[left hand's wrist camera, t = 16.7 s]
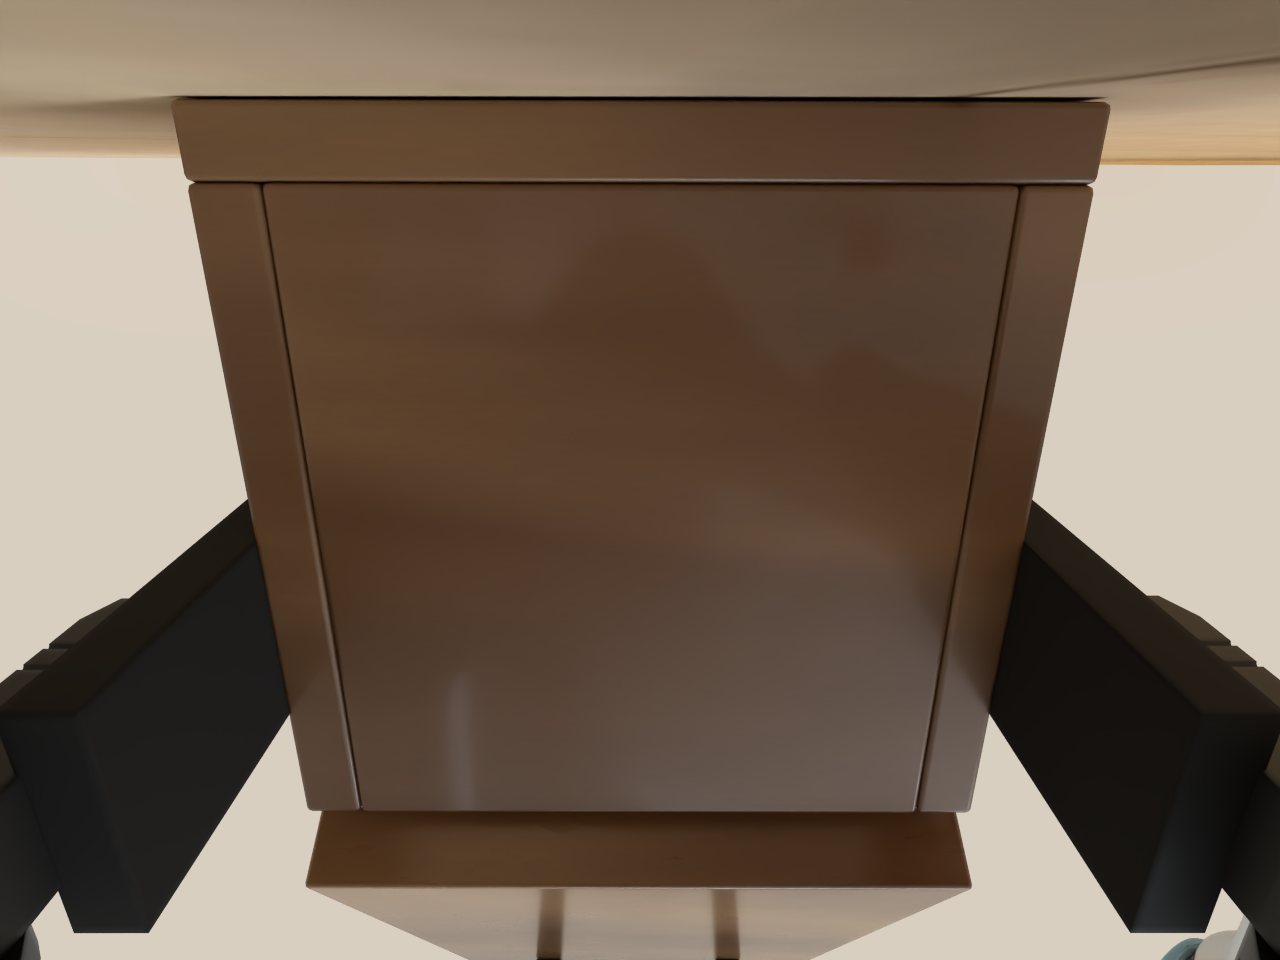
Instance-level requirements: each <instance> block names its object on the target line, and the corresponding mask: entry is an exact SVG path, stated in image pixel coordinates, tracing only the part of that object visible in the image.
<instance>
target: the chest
mask: <svg viewBox="0 0 1280 960" xmlns="http://www.w3.org/2000/svg"><path fill="white" fill-rule="evenodd" d="M172 112H173V117H174V122H175V127H176V132H177V138H178V143H179V148H180V153H181V158H182V163H183V168H184V174H185V176H186V178H187V179H188V180H191V181H193V182H195V183H193V184H191V185H190V186H189V190H188V192H189V197H190V202H191V207H192V212H193V218H194V223H195V228H196V233H197V238H198V243H199V248H200V253H201V259H202V264H203V269H204V274H205V280H206V285H207V290H208V295H209V300H210V305H211V311H212V316H213V321H214V326H215V331H216V336H217V341H218V346H219V352H220V357H221V362H222V367H223V372H224V378H225V383H226V388H227V393H228V398H229V403H230V409H231V414H232V419H233V424H234V429H235V435H236V440H237V445H238V450H239V455H240V460H241V466H242V471H243V476H244V481H245V486H246V491H247V497H248V502H249V507H250V512H251V517H252V522H253V528H254V533H255V538H256V543H257V548H258V554H259V559H260V564H261V569H262V574H263V579H264V585H265V590H266V595H267V600H268V605H269V610H270V616H271V621H272V626H273V631H274V636H275V641H276V647H277V652H278V657H279V662H280V667H281V672H282V678H283V683H284V688H285V693H286V698H287V703H288V709H289V714H290V719H291V724H292V729H293V734H294V739H295V745H296V750H297V755H298V760H299V765H300V771H301V776H302V781H303V786H304V791H305V796H306V802H307V807H308V808H309V809H310V810H312V811H356V810H359V809H360V808H361V806H362V808H363V810H365V811H511V812H914V811H915V809H916V808H917V810H918V811H920V812H968V811H969V810H970V808H971V803H972V797H973V793H974V788H975V782H976V777H977V773H978V768H979V763H980V758H981V753H982V748H983V743H984V737H985V732H986V727H987V723H988V717H989V713H990V708H991V703H992V698H993V693H994V688H995V683H996V678H997V673H998V668H999V663H1000V657H1001V652H1002V647H1003V642H1004V637H1005V632H1006V627H1007V622H1008V617H1009V612H1010V607H1011V602H1012V597H1013V592H1014V587H1015V582H1016V577H1017V572H1018V567H1019V562H1020V557H1021V552H1022V547H1023V542H1024V537H1025V532H1026V527H1027V522H1028V517H1029V512H1030V507H1031V502H1032V497H1033V492H1034V487H1035V482H1036V477H1037V472H1038V467H1039V462H1040V457H1041V452H1042V447H1043V442H1044V437H1045V432H1046V427H1047V422H1048V417H1049V412H1050V407H1051V402H1052V397H1053V392H1054V387H1055V382H1056V377H1057V372H1058V367H1059V362H1060V357H1061V352H1062V347H1063V342H1064V337H1065V332H1066V327H1067V322H1068V317H1069V312H1070V307H1071V302H1072V297H1073V292H1074V287H1075V282H1076V277H1077V272H1078V267H1079V262H1080V257H1081V252H1082V247H1083V242H1084V237H1085V232H1086V227H1087V222H1088V217H1089V212H1090V207H1091V202H1092V197H1093V189H1092V188H1091V187H1090V186H1087V185H1088V184H1090V183H1093V182H1094V181H1095V180H1096V178H1097V174H1098V169H1099V164H1100V159H1101V154H1102V149H1103V144H1104V139H1105V134H1106V129H1107V124H1108V119H1109V114H1110V105H1109V104H1107V103H1105V102H1007V101H690V100H373V99H177V100H175V101H173V102H172Z"/></svg>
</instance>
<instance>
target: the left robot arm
mask: <svg viewBox="0 0 1280 960" xmlns="http://www.w3.org/2000/svg"><path fill="white" fill-rule="evenodd" d="M989 714H990V715H991V717H992V719H993V720H994V722H995V723H996V725H997V726H998V728H999V729H1000V731H1001V732H1002V734H1003V736H1004V737H1005V739H1006V740H1007V742H1008V743H1009V745H1010V746H1011V748H1012V750H1013V751H1014V753H1015V754H1016V756H1017V757H1018V759H1019V760H1020V762H1021V764H1022V765H1023V767H1024V768H1025V770H1026V771H1027V773H1028V774H1029V776H1030V778H1031V779H1032V781H1033V782H1034V784H1035V785H1036V787H1037V788H1038V790H1039V792H1040V793H1041V795H1042V796H1043V798H1044V799H1045V801H1046V802H1047V804H1048V805H1049V807H1050V809H1051V810H1052V812H1053V813H1054V815H1055V816H1056V818H1057V819H1058V821H1059V822H1060V824H1061V826H1062V827H1063V829H1064V830H1065V832H1066V833H1067V835H1068V837H1069V838H1070V840H1071V841H1072V843H1073V844H1074V846H1075V847H1076V849H1077V851H1078V852H1079V854H1080V855H1081V857H1082V858H1083V860H1084V861H1085V863H1086V865H1087V866H1088V868H1089V869H1090V871H1091V872H1092V874H1093V875H1094V877H1095V879H1096V880H1097V882H1098V883H1099V885H1100V886H1101V888H1102V889H1103V891H1104V892H1105V894H1106V896H1107V897H1108V899H1109V900H1110V902H1111V903H1112V905H1113V907H1114V908H1115V910H1116V911H1117V913H1118V914H1119V916H1120V917H1121V919H1122V920H1123V922H1124V924H1125V925H1126V927H1127V928H1128V930H1129V931H1130V933H1205V931H1206V929H1207V926H1208V923H1209V921H1210V918H1211V915H1212V913H1213V910H1214V907H1215V905H1216V902H1217V899H1218V897H1219V894H1220V891H1221V889H1222V888H1223V889H1224V891H1225V892H1226V893H1227V894H1228V896H1229V897H1230V898H1231V899H1232V900H1233V902H1234V903H1235V904H1236V905H1237V907H1238V908H1239V909H1240V910H1241V912H1242V913H1243V914H1244V915H1245V917H1246V918H1247V919H1248V920H1249V921H1250V923H1249V925H1248V928H1247V930H1246V933H1245V935H1244V938H1243V940H1242V943H1241V945H1240V948H1239V950H1238V952H1237V955H1236V957H1235V960H1280V680H1279V679H1278V678H1277V677H1275V676H1274V675H1273V674H1272V673H1270V672H1269V671H1268V670H1267V669H1265V668H1264V667H1257V664H1256V661H1255V660H1254V659H1253V658H1252V657H1250V656H1249V655H1248V654H1246V653H1245V652H1244V651H1243V650H1241V649H1240V648H1239V647H1238V646H1231V641H1230V640H1229V639H1228V638H1226V637H1225V636H1224V635H1223V634H1221V633H1220V632H1219V631H1218V630H1216V629H1215V628H1214V627H1213V626H1211V625H1210V624H1209V623H1207V622H1206V621H1205V620H1204V619H1202V618H1201V617H1200V616H1198V615H1196V614H1194V613H1192V612H1190V611H1188V610H1186V609H1184V608H1182V607H1180V606H1178V605H1176V604H1174V603H1172V602H1170V601H1168V600H1166V599H1164V598H1162V597H1160V596H1146V595H1145V594H1144V593H1143V592H1142V591H1140V590H1139V589H1138V588H1137V587H1136V586H1135V585H1133V584H1132V583H1131V582H1130V581H1129V580H1127V579H1126V578H1125V577H1124V576H1123V575H1121V574H1120V573H1119V572H1118V571H1117V570H1115V569H1114V568H1113V567H1112V566H1111V565H1109V564H1108V563H1107V562H1106V561H1105V560H1104V559H1102V558H1101V557H1100V556H1099V555H1098V554H1096V553H1095V552H1094V551H1093V550H1092V549H1090V548H1089V547H1088V546H1087V545H1086V544H1084V543H1083V542H1082V541H1081V540H1080V539H1078V538H1077V537H1076V536H1075V535H1074V534H1072V533H1071V532H1070V531H1069V530H1068V529H1067V528H1065V527H1064V526H1063V525H1062V524H1061V523H1059V522H1058V521H1057V520H1056V519H1055V518H1053V517H1052V516H1051V515H1050V514H1049V513H1047V512H1046V511H1045V510H1044V509H1043V508H1041V507H1040V506H1039V505H1038V504H1037V503H1035V502H1034V501H1033V500H1032V502H1031V507H1030V512H1029V517H1028V522H1027V527H1026V532H1025V537H1024V542H1023V547H1022V552H1021V557H1020V562H1019V567H1018V572H1017V577H1016V582H1015V587H1014V592H1013V597H1012V602H1011V607H1010V612H1009V617H1008V622H1007V627H1006V632H1005V637H1004V642H1003V647H1002V652H1001V657H1000V663H999V668H998V673H997V678H996V683H995V688H994V693H993V698H992V703H991V708H990V713H989ZM288 716H289V709H288V703H287V698H286V693H285V688H284V683H283V678H282V672H281V667H280V662H279V657H278V652H277V647H276V641H275V636H274V631H273V626H272V621H271V616H270V610H269V605H268V600H267V595H266V590H265V585H264V579H263V574H262V569H261V564H260V559H259V554H258V548H257V543H256V538H255V533H254V528H253V522H252V517H251V512H250V507H249V502H248V499H247V500H246V501H245V502H244V503H242V504H241V505H240V506H239V507H238V508H236V509H235V510H234V511H233V512H232V513H230V514H229V515H228V516H227V517H226V518H225V519H223V520H222V521H221V522H220V523H219V524H217V525H216V526H215V527H214V528H213V529H211V530H210V531H209V532H208V533H207V534H205V535H204V536H203V537H202V538H201V539H199V540H198V541H197V542H196V543H195V544H193V545H192V546H191V547H190V548H189V549H188V550H186V551H185V552H184V553H183V554H182V555H180V556H179V557H178V558H177V559H176V560H174V561H173V562H172V563H171V564H170V565H168V566H167V567H166V568H165V569H164V570H162V571H161V572H160V573H159V574H158V575H156V576H155V577H154V578H153V579H152V580H151V581H149V582H148V583H147V584H146V585H145V586H143V587H142V588H141V589H140V590H139V591H137V592H136V593H135V594H134V595H133V596H131V597H130V598H129V599H120V600H118V601H116V602H114V603H112V604H110V605H108V606H106V607H104V608H102V609H100V610H98V611H96V612H94V613H92V614H90V615H88V616H86V617H84V618H82V619H80V620H79V621H77V622H76V623H75V624H74V625H72V626H71V627H70V628H69V629H67V630H66V631H65V632H64V633H62V634H61V635H60V636H59V637H57V638H56V639H55V640H54V641H52V642H51V643H50V644H49V649H42V650H41V651H40V652H39V653H37V654H36V655H35V656H34V657H32V658H31V659H30V660H29V661H27V662H26V663H25V664H24V667H23V670H16V671H15V672H14V673H12V674H11V675H10V676H9V677H7V678H6V679H5V680H4V681H2V682H1V683H0V960H40V959H41V957H40V951H39V945H38V940H37V938H36V935H35V933H34V930H33V928H32V925H31V924H32V923H33V921H34V920H35V919H36V918H37V916H38V915H39V914H40V913H41V911H42V910H43V909H44V908H45V906H46V905H47V904H48V903H49V901H50V900H51V899H52V898H53V897H54V895H55V894H56V893H57V892H59V894H60V897H61V900H62V902H63V905H64V908H65V910H66V913H67V916H68V918H69V921H70V923H71V926H72V929H73V931H74V933H149V932H150V930H151V928H152V927H153V925H154V924H155V922H156V921H157V919H158V918H159V916H160V914H161V913H162V911H163V910H164V908H165V907H166V905H167V904H168V902H169V901H170V899H171V897H172V896H173V894H174V893H175V891H176V890H177V888H178V887H179V885H180V883H181V882H182V880H183V879H184V877H185V876H186V874H187V873H188V871H189V869H190V868H191V866H192V865H193V863H194V862H195V860H196V859H197V857H198V855H199V854H200V852H201V851H202V849H203V848H204V846H205V844H206V843H207V842H208V840H209V838H210V837H211V835H212V834H213V832H214V830H215V829H216V827H217V826H218V824H219V823H220V821H221V820H222V818H223V817H224V815H225V814H226V812H227V810H228V809H229V807H230V806H231V804H232V803H233V801H234V799H235V798H236V796H237V795H238V793H239V792H240V790H241V789H242V787H243V786H244V784H245V782H246V781H247V779H248V778H249V776H250V775H251V773H252V772H253V770H254V768H255V767H256V765H257V764H258V762H259V761H260V759H261V758H262V756H263V754H264V753H265V751H266V750H267V748H268V747H269V745H270V744H271V742H272V740H273V739H274V737H275V736H276V734H277V733H278V731H279V730H280V728H281V726H282V725H283V723H284V722H285V720H286V719H287V717H288Z"/></svg>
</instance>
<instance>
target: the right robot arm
mask: <svg viewBox="0 0 1280 960" xmlns="http://www.w3.org/2000/svg"><path fill="white" fill-rule="evenodd" d="M1249 923H1250V921H1249V920H1248V919H1247V918H1246V917H1245V915H1244V916H1243V918H1242V921H1241V923H1240V925H1239V928H1238V930H1236V931H1223V932H1218V933H1215V934H1212V935H1210V936H1208V937H1207V938H1205V939H1204V940H1203V939H1199V938H1190V939H1186V940H1184V941H1182V942H1180V943H1179V944H1177V945H1176V946H1175V947H1173V948H1172V949H1171V950H1170V951H1169V952H1168V953H1167V954H1166V955H1165V956H1164V957H1163V958H1162V960H1235V957H1236V955H1237V952H1238V950H1239V948H1240V945H1241V943H1242V940H1243V938H1244V935H1245V933H1246V930H1247V928H1248V925H1249Z"/></svg>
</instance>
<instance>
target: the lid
mask: <svg viewBox="0 0 1280 960" xmlns="http://www.w3.org/2000/svg"><path fill="white" fill-rule="evenodd" d="M971 886H972V884H971V879H970V874H969V870H968V865H967V861H966V856H965V852H964V848H963V843H962V838H961V834H960V829H959V825H958V820H957V815H956V812H920V811H918V810H917V808H916V809H915V811H914V812H511V811H365V810H363V808H362V807H361V808H360V809H359V810H356V811H322V813H321V817H320V822H319V826H318V830H317V835H316V839H315V844H314V848H313V853H312V857H311V861H310V866H309V870H308V875H307V879H306V887H307V888H309V889H312V890H314V891H316V892H318V893H320V894H323V895H325V896H327V897H329V898H332V899H334V900H336V901H338V902H341V903H343V904H345V905H347V906H350V907H352V908H354V909H356V910H359V911H361V912H363V913H365V914H368V915H370V916H372V917H374V918H376V919H379V920H381V921H383V922H385V923H388V924H390V925H392V926H394V927H397V928H399V929H401V930H403V931H406V932H408V933H410V934H412V935H415V936H417V937H419V938H421V939H424V940H426V941H428V942H430V943H433V944H435V945H437V946H439V947H441V948H444V949H446V950H448V951H450V952H453V953H455V954H457V955H460V956H462V957H464V958H466V959H468V960H810V959H812V958H815V957H817V956H819V955H821V954H824V953H826V952H828V951H831V950H833V949H835V948H837V947H840V946H842V945H844V944H846V943H849V942H851V941H853V940H856V939H858V938H860V937H862V936H865V935H867V934H869V933H871V932H874V931H876V930H878V929H881V928H883V927H885V926H887V925H890V924H892V923H894V922H896V921H899V920H901V919H903V918H906V917H908V916H910V915H912V914H915V913H917V912H919V911H922V910H924V909H926V908H928V907H931V906H933V905H935V904H937V903H940V902H942V901H944V900H947V899H949V898H951V897H953V896H956V895H958V894H960V893H962V892H965V891H967V890H969V889H971Z"/></svg>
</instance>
